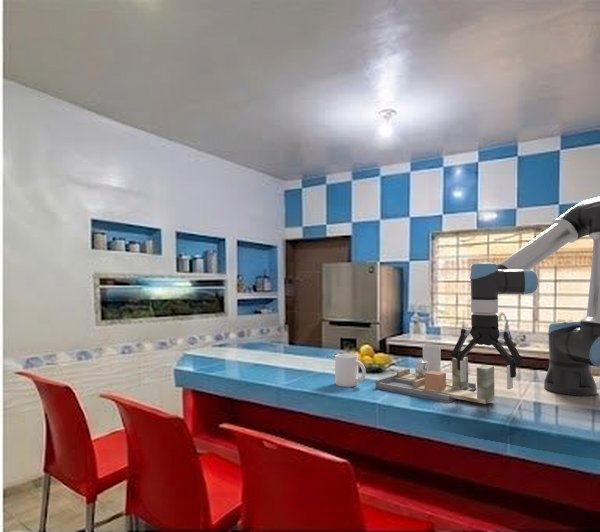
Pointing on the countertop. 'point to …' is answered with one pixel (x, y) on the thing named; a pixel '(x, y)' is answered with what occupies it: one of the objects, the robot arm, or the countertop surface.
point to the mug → (348, 370)
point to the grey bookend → (432, 357)
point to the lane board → (407, 388)
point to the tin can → (421, 368)
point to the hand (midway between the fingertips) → (485, 384)
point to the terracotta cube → (435, 380)
